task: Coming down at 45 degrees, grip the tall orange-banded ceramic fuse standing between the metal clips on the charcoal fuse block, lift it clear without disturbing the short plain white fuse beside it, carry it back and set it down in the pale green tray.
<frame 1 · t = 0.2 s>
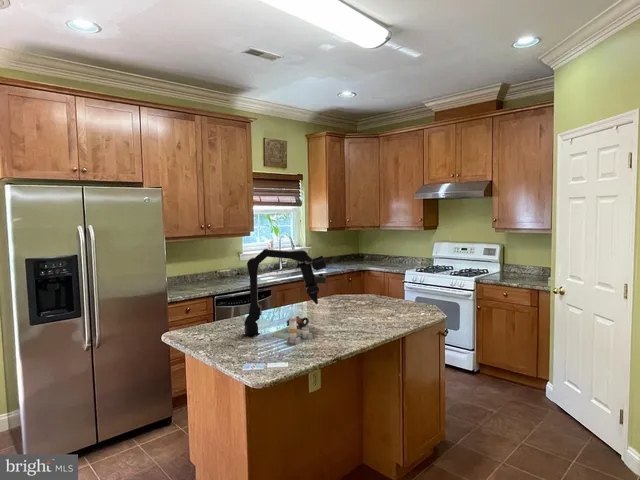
hand: (316, 302, 215), 15 cm above the countertop, tool pointing down, fingers open, 9 cm apart
fuse block: (299, 342, 199), on the countertop
banded fuse: (293, 342, 195), point 1 cm above the countertop, touching fuse block
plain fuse: (305, 337, 202), point 1 cm above the countertop, touching fuse block
tray: (287, 336, 208), on the countertop
pottery mug: (298, 329, 221), on the countertop
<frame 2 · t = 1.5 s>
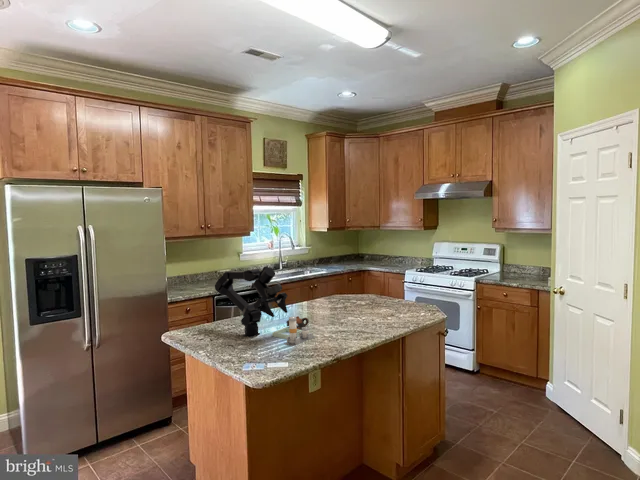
hand: (280, 314, 200), 13 cm above the countertop, tool tilted 45°, fingers open, 9 cm apart
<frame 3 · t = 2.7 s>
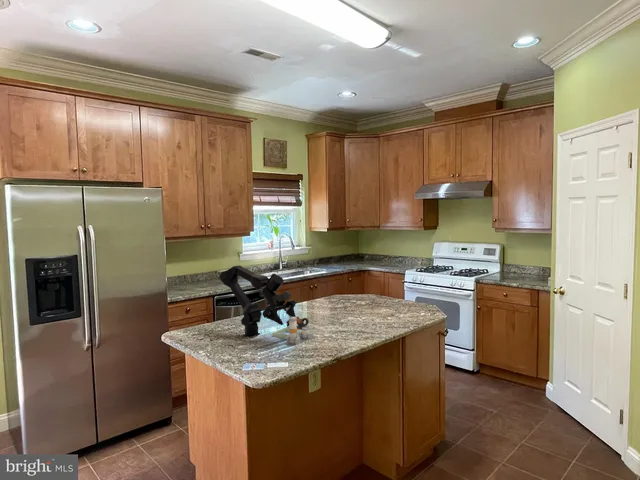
hand: (289, 322, 196), 10 cm above the countertop, tool tilted 45°, fingers open, 9 cm apart
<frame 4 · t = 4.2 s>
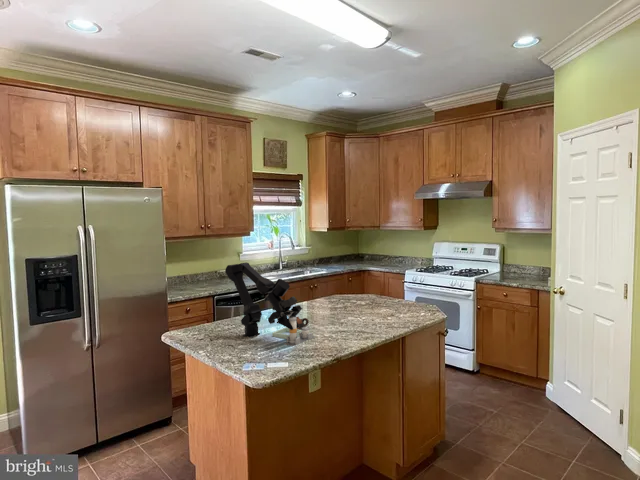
hand: (295, 328, 194), 8 cm above the countertop, tool tilted 45°, fingers closed on banded fuse, 3 cm apart
banded fuse: (293, 342, 195), point 1 cm above the countertop, touching fuse block, gripper
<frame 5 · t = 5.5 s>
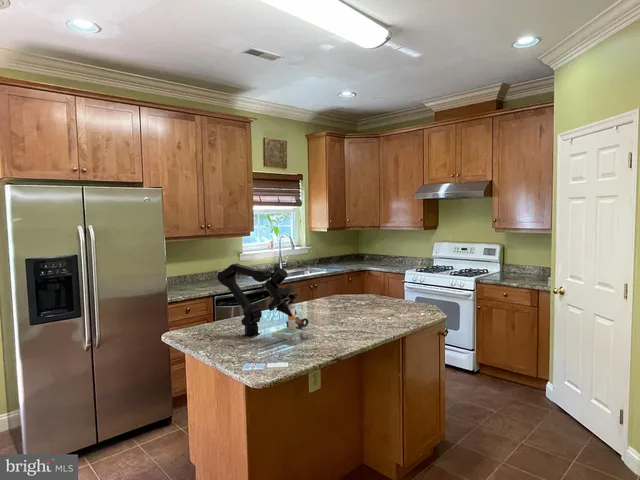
hand: (293, 315, 199), 13 cm above the countertop, tool tilted 45°, fingers closed on banded fuse, 3 cm apart
banded fuse: (291, 329, 200), point 6 cm above the countertop, touching gripper
when the fingers open (9 cm above the countertop, at t = 7.0 s): banded fuse drops 1 cm, resting on tray.
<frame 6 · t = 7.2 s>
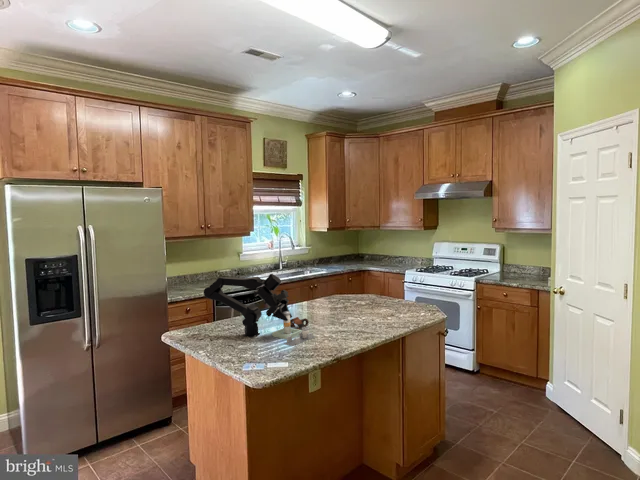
hand: (289, 319, 207), 9 cm above the countertop, tool tilted 45°, fingers open, 6 cm apart
banded fuse: (287, 335, 208), point 1 cm above the countertop, touching tray
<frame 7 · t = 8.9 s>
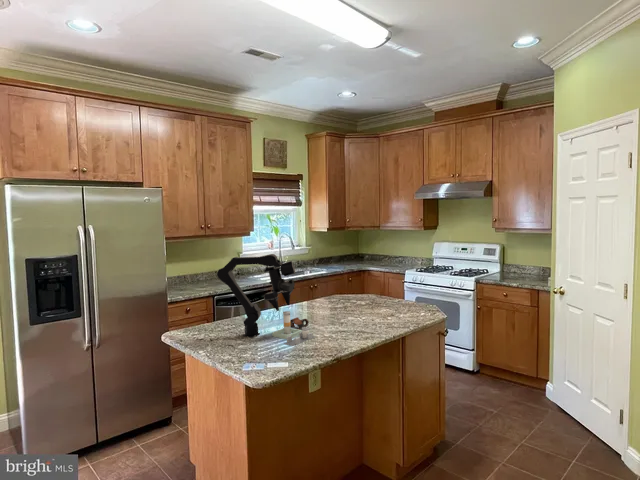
hand: (283, 307, 212), 14 cm above the countertop, tool pointing down, fingers open, 9 cm apart
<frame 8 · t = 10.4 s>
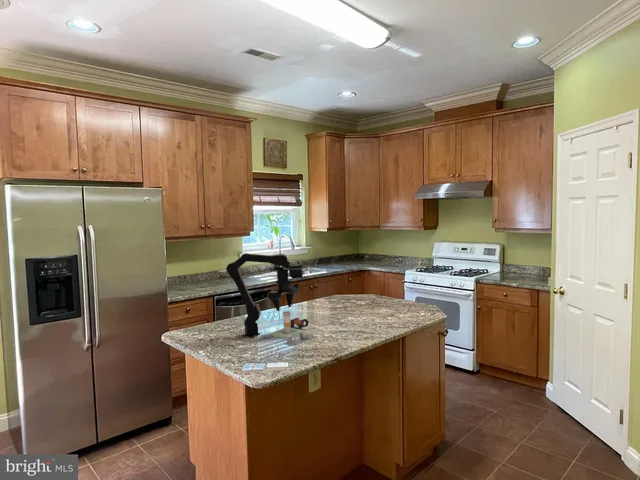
hand: (284, 309, 213), 13 cm above the countertop, tool pointing down, fingers open, 9 cm apart
at the end: banded fuse inside the target area on the tray (0.1 cm from its centre), point 0.6 cm above the tray's base; banded fuse touching tray; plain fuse moved 0.0 cm from its start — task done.
